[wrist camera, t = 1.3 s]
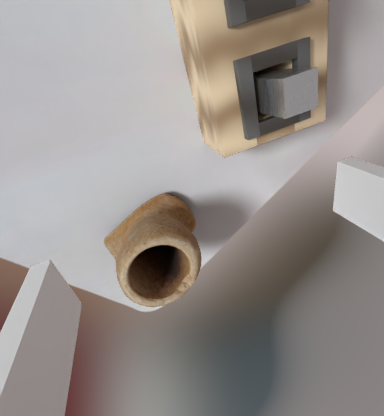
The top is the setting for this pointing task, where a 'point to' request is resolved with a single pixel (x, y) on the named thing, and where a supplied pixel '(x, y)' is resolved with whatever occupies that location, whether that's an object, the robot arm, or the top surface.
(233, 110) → the oak block
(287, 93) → the metal pin
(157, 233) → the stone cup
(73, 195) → the top surface
